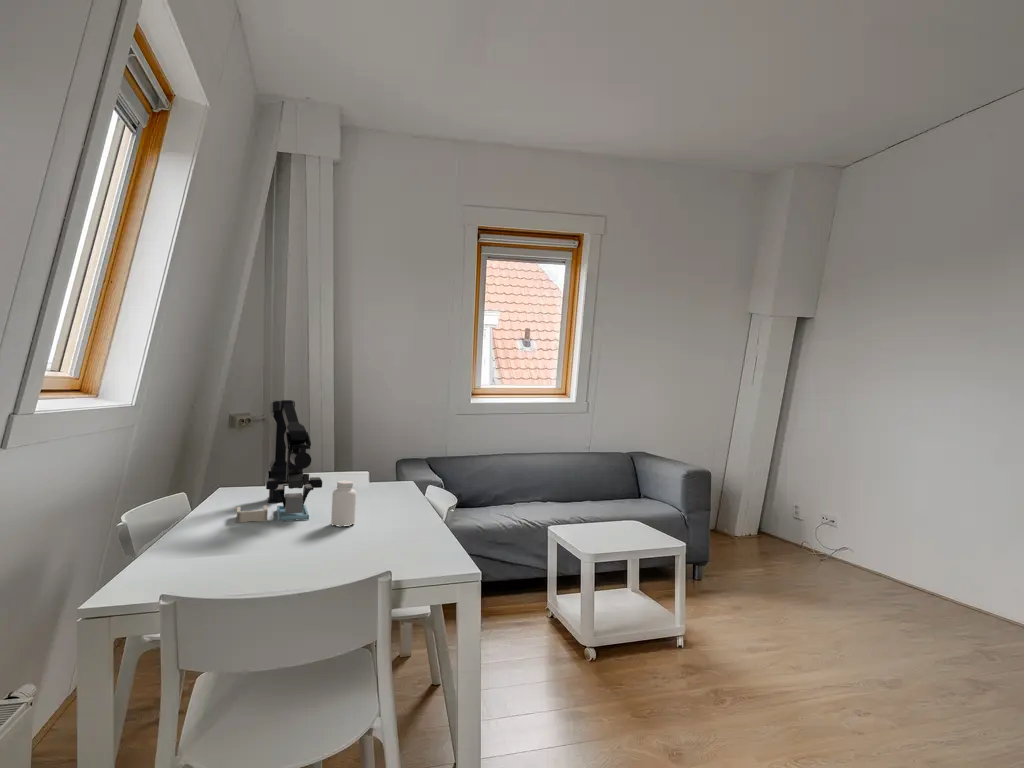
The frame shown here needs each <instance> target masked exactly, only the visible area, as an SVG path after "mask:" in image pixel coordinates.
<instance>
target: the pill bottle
mask: <svg viewBox="0 0 1024 768" xmlns="http://www.w3.org/2000/svg"><path fill="white" fill-rule="evenodd" d="M336 484H337V487H336V489H334V490H333V492H332V497H331V498H332V499H331V520H330V521H331V525H332V524H333V525H339V526H344V525H350V524H353V523H356V509H357V508H356V505H357V492H356V490H355V489H353V488H354V482H353V481H351V480H338V481H336ZM333 525H332V526H333Z"/></svg>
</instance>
